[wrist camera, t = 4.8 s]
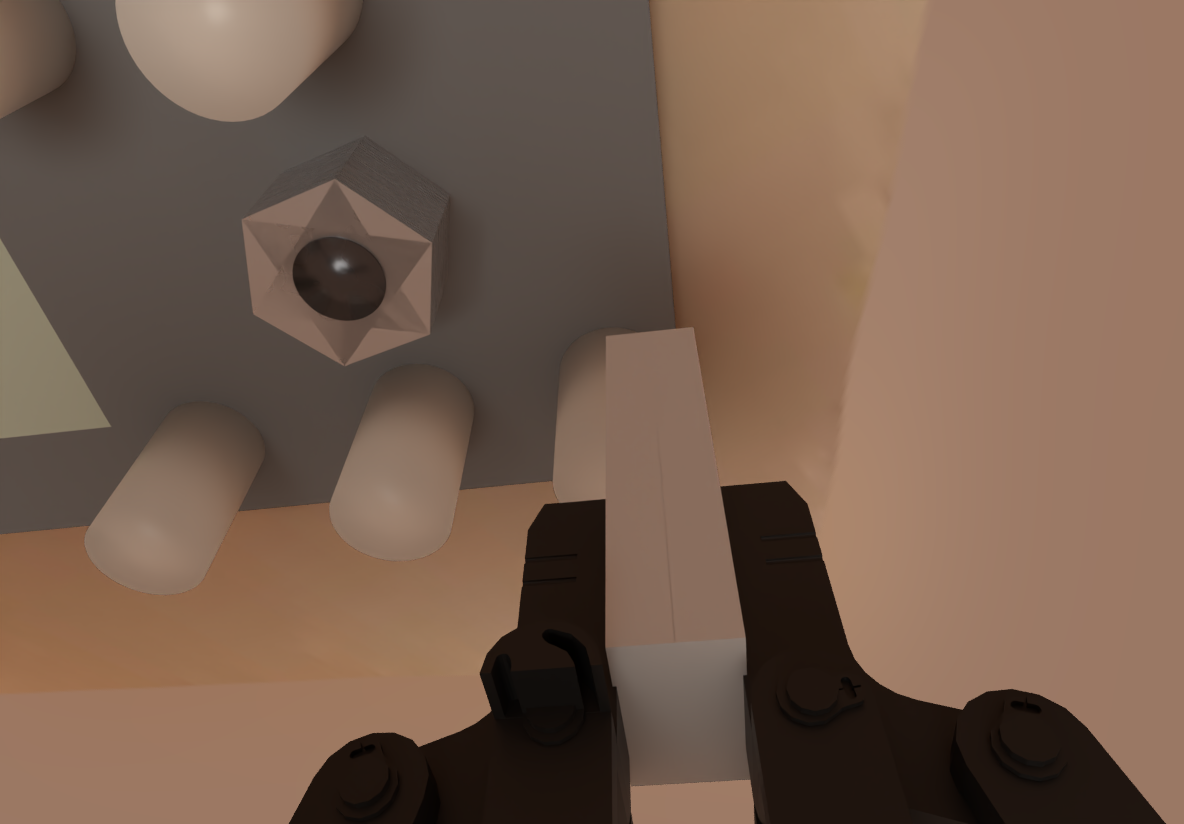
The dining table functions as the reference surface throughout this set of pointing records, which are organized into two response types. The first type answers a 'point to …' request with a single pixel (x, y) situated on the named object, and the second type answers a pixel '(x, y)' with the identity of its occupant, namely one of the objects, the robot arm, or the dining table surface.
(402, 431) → the spacers
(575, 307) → the mat
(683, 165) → the dining table surface
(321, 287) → the nut
